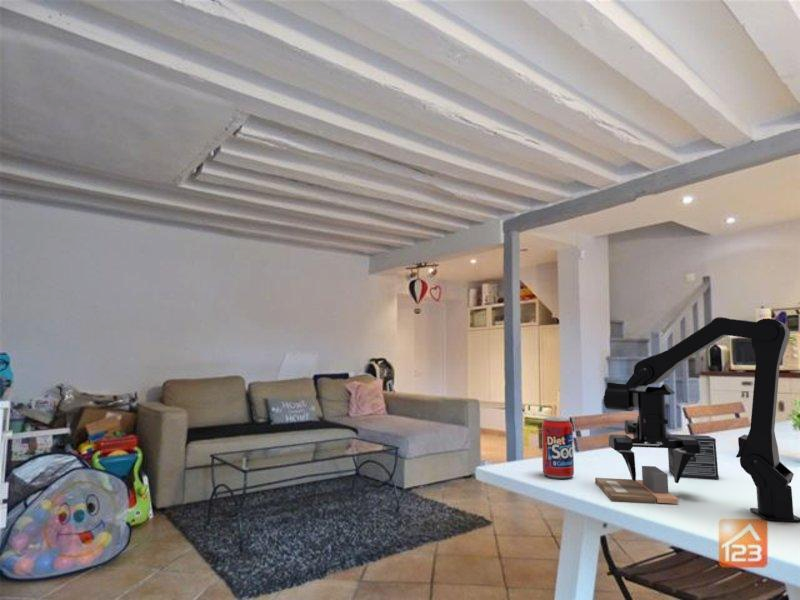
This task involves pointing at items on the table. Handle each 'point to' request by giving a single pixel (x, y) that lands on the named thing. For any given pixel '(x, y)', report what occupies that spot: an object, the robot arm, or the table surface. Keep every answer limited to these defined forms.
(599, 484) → the brown flat board
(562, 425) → the soda can
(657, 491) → the stub
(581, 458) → the table surface
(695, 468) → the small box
